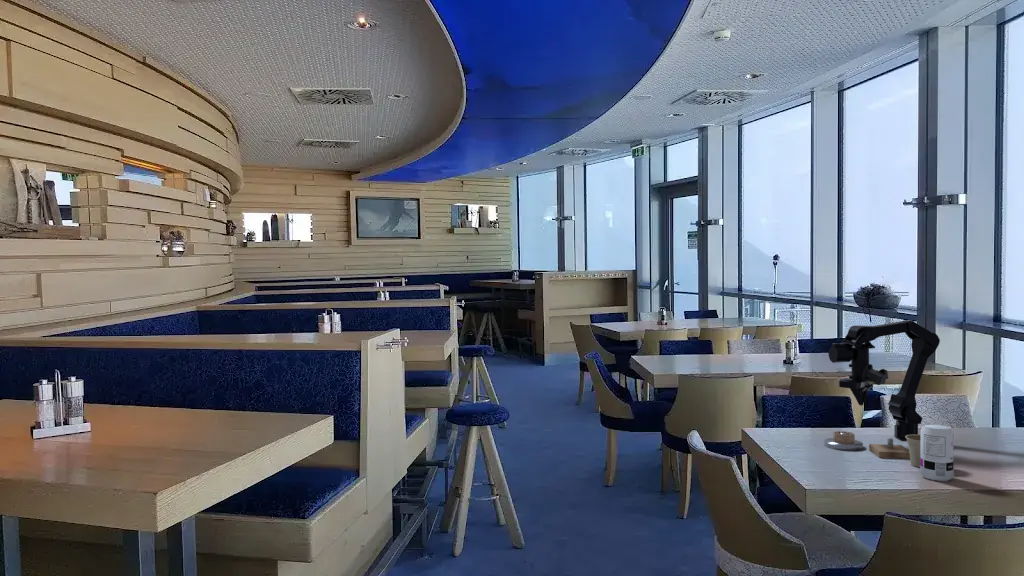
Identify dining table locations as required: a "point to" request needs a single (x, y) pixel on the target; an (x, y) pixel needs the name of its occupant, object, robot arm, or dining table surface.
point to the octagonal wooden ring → (843, 437)
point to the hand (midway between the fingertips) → (861, 405)
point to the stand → (889, 450)
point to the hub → (843, 445)
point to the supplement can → (936, 452)
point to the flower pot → (914, 449)
